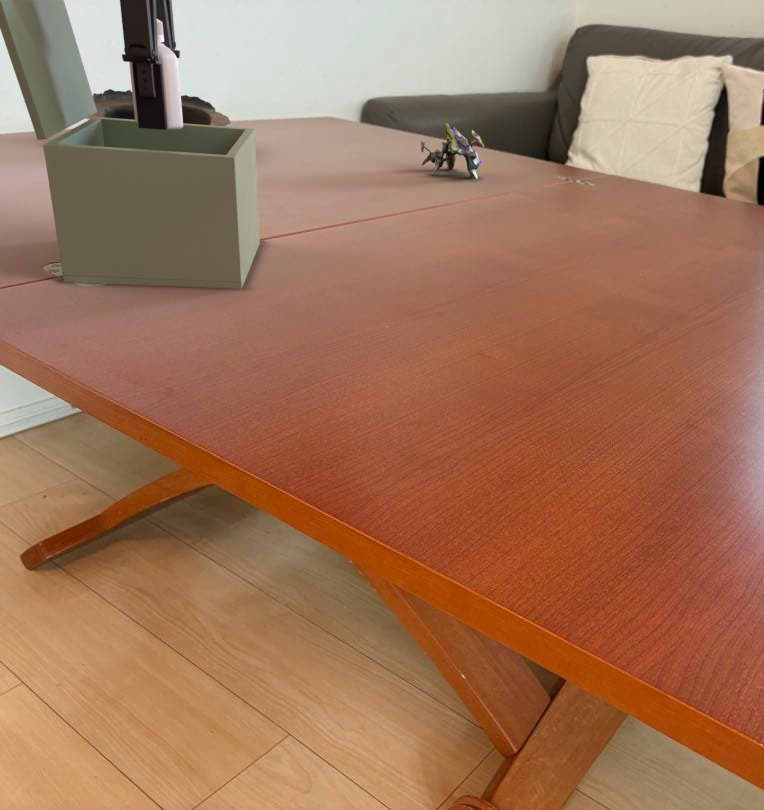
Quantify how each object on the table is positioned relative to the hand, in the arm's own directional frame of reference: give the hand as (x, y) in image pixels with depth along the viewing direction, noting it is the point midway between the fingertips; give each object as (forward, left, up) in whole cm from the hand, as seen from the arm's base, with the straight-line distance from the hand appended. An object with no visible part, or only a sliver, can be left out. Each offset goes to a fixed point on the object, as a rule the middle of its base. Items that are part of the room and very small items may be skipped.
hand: (158, 123), depth 93 cm
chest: (0, 0, -16) cm, 16 cm away
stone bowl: (-14, +63, -16) cm, 66 cm away
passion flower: (+38, +58, -16) cm, 71 cm away
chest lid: (-10, 0, +9) cm, 13 cm away
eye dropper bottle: (0, 0, 0) cm, 0 cm away
